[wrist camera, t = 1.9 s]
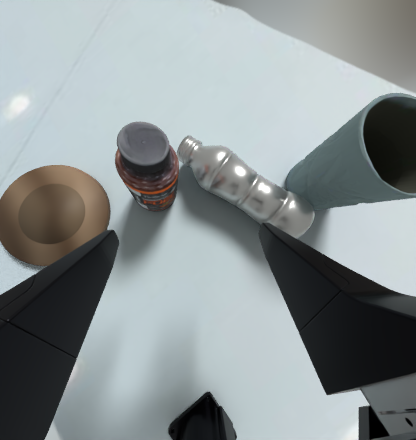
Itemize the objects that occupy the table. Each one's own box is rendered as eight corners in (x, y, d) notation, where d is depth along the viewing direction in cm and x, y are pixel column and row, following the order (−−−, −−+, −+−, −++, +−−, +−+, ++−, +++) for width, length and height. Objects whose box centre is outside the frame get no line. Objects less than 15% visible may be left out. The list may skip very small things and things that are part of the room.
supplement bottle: (148, 219, 22) (126, 190, 11) (126, 185, 22) (83, 124, 11) (183, 199, 24) (194, 158, 13) (162, 168, 24) (156, 101, 13)
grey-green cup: (304, 147, 26) (393, 73, 15) (349, 185, 26) (476, 140, 14) (270, 189, 25) (338, 143, 13) (318, 229, 25) (431, 219, 13)
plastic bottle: (320, 200, 21) (203, 121, 21) (327, 230, 16) (176, 128, 17) (285, 225, 26) (189, 160, 26) (283, 255, 21) (165, 174, 21)
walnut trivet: (36, 285, 20) (27, 288, 19) (-15, 201, 21) (-26, 199, 20) (128, 226, 22) (125, 226, 21) (79, 151, 23) (73, 147, 22)
